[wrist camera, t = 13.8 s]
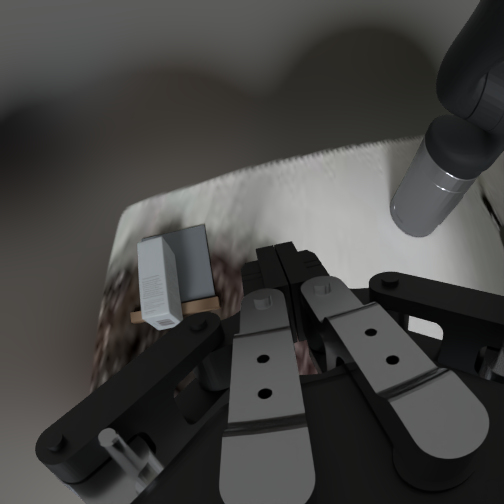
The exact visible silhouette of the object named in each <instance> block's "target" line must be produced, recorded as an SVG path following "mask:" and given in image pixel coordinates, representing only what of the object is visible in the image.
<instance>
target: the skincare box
mask: <svg viewBox="0 0 504 504" xmlns="http://www.w3.org/2000/svg"><path fill="white" fill-rule="evenodd" d="M138 270H139V287H140V301H141V313H142V319H143V320H145V321H146V322H148V323H149V324H151V325H152V326H154V327H155V328H157V329H158V330H162V329H167V328H172V327H175V326H176V325H177V324H178V323H180V322H181V321H182V320H183V316H182V308H181V301H180V294H179V286H178V277H177V269H176V260H175V254H174V253H173V252H172V250H171V248H170V246H169V245H168V244H167V243H166V241H165V240H164V238H163V237H162V236H161V237H157V238H154V239H150V240H147V241H143V242H140V243H138Z"/></svg>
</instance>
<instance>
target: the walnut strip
mask: <svg viewBox="0 0 504 504" xmlns="http://www.w3.org/2000/svg"><path fill="white" fill-rule="evenodd" d="M181 308H182V315H187V314H192V313H198V312H203V311H208V310H213V309H219V308H221V307H220V301H219V298H218V296H217V297H212V298H207V299H202V300H197V301H192V302H187V303H182V304H181ZM130 314H131V322H132V323H134V324H135V323H141V322H146V321H145V320H143V319H142V313H141V311H138V312H132V313H130Z"/></svg>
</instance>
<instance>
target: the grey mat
mask: <svg viewBox="0 0 504 504" xmlns="http://www.w3.org/2000/svg"><path fill="white" fill-rule="evenodd" d="M161 236H162V237H163V238H164V240H165V241H166V243H167V244H168V245H169V246H170V248H171V250H172V252H173V253H174V254H175V260H176V269H177V277H178V286H179V294H180V301H181V303H182V302H187V301H192V300H197V299H202V298H208V297H213V296H215V291H214V285H213V279H212V273H211V266H210V260H209V253H208V247H207V240H206V233H205V226H204V225H201V226H197V227H192V228H188V229H184V230H179V231H175V232H170V233H166V234H162V235H158V236H153V237H149V238H145V239H142V242H143V241H147V240H150V239H154V238H157V237H161Z"/></svg>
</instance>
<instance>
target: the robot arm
mask: <svg viewBox="0 0 504 504" xmlns="http://www.w3.org/2000/svg"><path fill="white" fill-rule="evenodd" d="M436 93H437V97H438V99H439V101H440V103H441V105H442V106H443V107H444V108H445V109H447V110H448V111H449V112H451V113H452V114H454V115H442V116H439V117H437V118H435V119H434V120H433V121H432V123H431V124H430V126H429V128H428V130H427V132H426V134H425V137H424V139H423V141H422V143H421V145H420V147H419V149H418V151H417V153H416V155H415V157H414V159H413V161H412V163H411V165H410V167H409V169H408V171H407V173H406V175H405V177H404V179H403V180H402V182H401V184H400V186H399V188H398V190H397V192H396V194H395V195H394V197H393V199H392V202H391V206H390V211H391V215H392V218H393V220H394V222H395V224H396V225H397V226H398V227H399V228H400V229H401V230H402V231H403V232H405V233H406V234H408V235H411V236H414V237H425V236H427V235H429V234H431V233H432V232H433V231H434V230H435V228H436V227H437V226H438V225H440V224H441V223H442V222H443V221H444V220H445V218H446V217H447V216H448V215H449V214H450V213H451V211H452V210H453V209H454V208H455V207H456V205H457V204H458V203H459V202H460V201H461V199H462V198H463V195H464V194H465V193H466V192H467V190H468V189H469V188H470V186H471V185H472V184H473V183H474V181H475V180H476V179H477V177H478V176H479V175H480V174H481V172H483V171H485V170H487V169H488V168H489V167H490V166H491V165H492V164H493V163H494V162H495V160H496V159H497V158H498V157H499V155H500V154H501V153H502V152H503V151H504V0H480V2H479V4H478V6H477V7H476V9H475V11H474V12H473V14H472V15H471V17H470V18H469V20H468V21H467V23H466V24H465V26H464V27H463V29H462V30H461V32H460V33H459V34H458V36H457V37H456V39H455V40H454V42H453V43H452V45H451V46H450V48H449V50H448V51H447V53H446V55H445V57H444V59H443V61H442V63H441V66H440V69H439V72H438V75H437V81H436ZM274 248H275V249H274ZM256 254H257V258H258V260H257V261H252V262H247V263H245V264H244V266H243V267H242V269H241V275H242V283H243V292H244V298H243V299H242V301H241V310H240V311H239V312H238V313H236V314H235V315H233V316H231V317H229V318H227V319H224V320H222V321H221V320H220V318H219V316H218V315H216V314H214V313H211V312H201V313H196V314H193V315H191V316H188V317H187V318H185V319H184V320H182V321H181V322H180V323H178V324H177V325H176V326H175V327H174V328H172V329H171V330H170V331H169V332H167V333H166V334H165V335H164V336H162V337H161V338H160V339H159V340H157V341H156V342H155V343H154V344H152V345H151V346H150V347H149V348H148V349H146V350H145V351H144V352H143V353H141V354H140V355H139V356H138V357H136V358H135V359H134V360H133V361H131V362H130V363H129V364H128V365H126V366H125V367H124V368H123V369H121V370H120V371H119V372H118V373H116V374H115V375H114V376H113V377H111V378H110V379H109V380H108V381H106V382H105V383H104V384H103V385H101V386H100V387H99V388H98V389H96V390H95V391H94V392H93V393H91V394H90V395H89V396H88V397H86V398H85V399H84V400H83V401H82V402H80V403H79V404H78V405H76V406H75V407H74V408H72V409H71V410H70V411H69V412H67V413H66V414H65V415H64V416H62V417H61V418H60V419H59V420H57V421H56V422H55V423H54V424H52V425H51V426H50V427H48V428H47V429H46V430H45V431H44V432H43V433H42V434H41V435H40V437H39V438H38V440H37V443H36V448H35V451H36V455H37V457H38V459H39V460H40V461H41V462H42V463H43V464H44V465H45V466H46V467H47V468H48V469H49V470H50V471H51V472H52V473H54V474H55V475H56V477H57V479H58V480H60V481H61V482H62V483H63V484H64V485H65V486H66V487H67V488H69V489H70V490H71V491H72V492H74V493H75V494H76V495H77V496H78V497H80V498H81V499H82V500H83V501H84V502H85V503H86V504H504V296H501V295H496V294H492V293H487V292H483V291H479V290H474V289H470V288H466V287H461V286H457V285H452V284H448V283H443V282H439V281H435V280H430V279H426V278H421V277H417V276H412V275H408V274H403V273H398V272H383V273H379V274H377V275H375V276H373V277H372V278H371V279H370V281H369V288H361V289H349V288H348V287H347V286H346V285H345V284H344V283H343V282H342V281H341V280H340V279H339V278H336V277H333V276H330V275H329V274H328V272H327V271H326V269H325V268H324V266H323V265H322V263H321V262H320V260H319V259H318V258H317V256H316V255H315V253H312V252H310V251H308V250H304V251H299V252H298V251H297V250H296V248H295V246H294V244H293V243H292V241H291V242H286V243H281V244H276V245H274V247H273V245H272V246H267V247H262V248H258V249H256ZM409 316H413V317H417V318H420V319H424V320H427V321H431V322H434V323H437V324H438V325H439V326H440V327H441V328H442V330H443V339H442V340H439V339H435V338H432V337H429V336H425V335H422V334H419V333H415V332H412V331H409V330H408V323H409ZM296 333H297V336H298V339H299V341H304V340H307V342H308V348H309V355H310V358H311V360H312V362H313V364H314V366H315V368H316V370H317V372H318V374H313V375H299V374H298V368H297V362H296V356H295V346H294V343H296V342H297V336H296ZM192 370H193V372H194V374H195V377H196V378H195V379H194V380H193V381H192V382H191V383H190V384H189V385H188V386H187V387H186V388H184V389H183V390H182V391H181V392H180V393H179V394H178V395H177V396H176V397H175V398H174V390H175V388H176V386H177V384H178V383H179V382H180V381H181V380H183V379H184V378H185V377H186V376H187V375H188V374H189V373H190V372H191V371H192Z"/></svg>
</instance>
